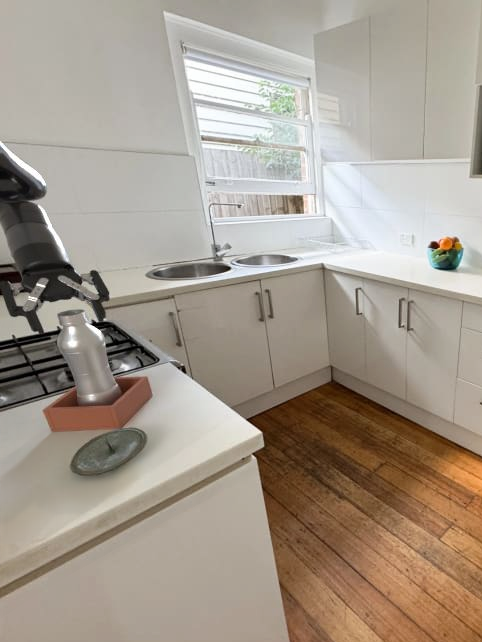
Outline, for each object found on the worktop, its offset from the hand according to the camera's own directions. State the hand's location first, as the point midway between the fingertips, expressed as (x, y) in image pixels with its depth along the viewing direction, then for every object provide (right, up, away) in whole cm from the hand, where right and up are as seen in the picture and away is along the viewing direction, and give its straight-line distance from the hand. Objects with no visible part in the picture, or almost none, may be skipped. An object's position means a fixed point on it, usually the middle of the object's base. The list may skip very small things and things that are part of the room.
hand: (72, 325), depth 70 cm
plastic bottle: (+2, -16, +5) cm, 17 cm away
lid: (+13, -22, -7) cm, 27 cm away
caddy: (+2, -17, +5) cm, 18 cm away
